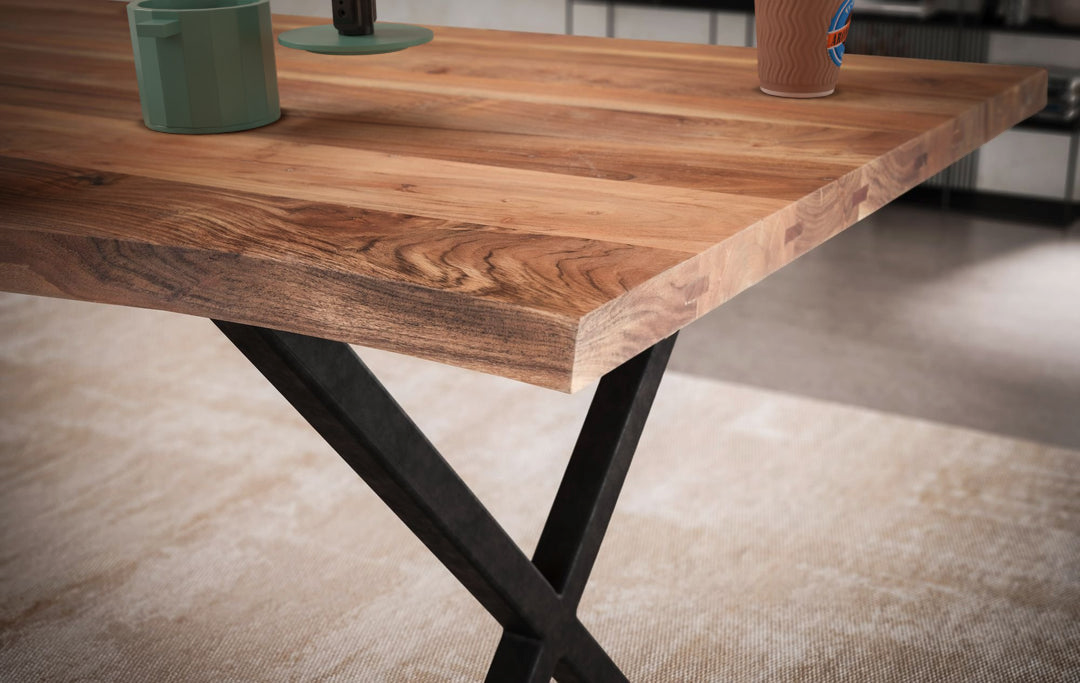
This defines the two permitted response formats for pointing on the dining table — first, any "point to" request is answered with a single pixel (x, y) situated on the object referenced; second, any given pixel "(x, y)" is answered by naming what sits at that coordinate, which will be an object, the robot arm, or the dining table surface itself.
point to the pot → (205, 64)
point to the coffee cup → (801, 45)
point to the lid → (356, 37)
